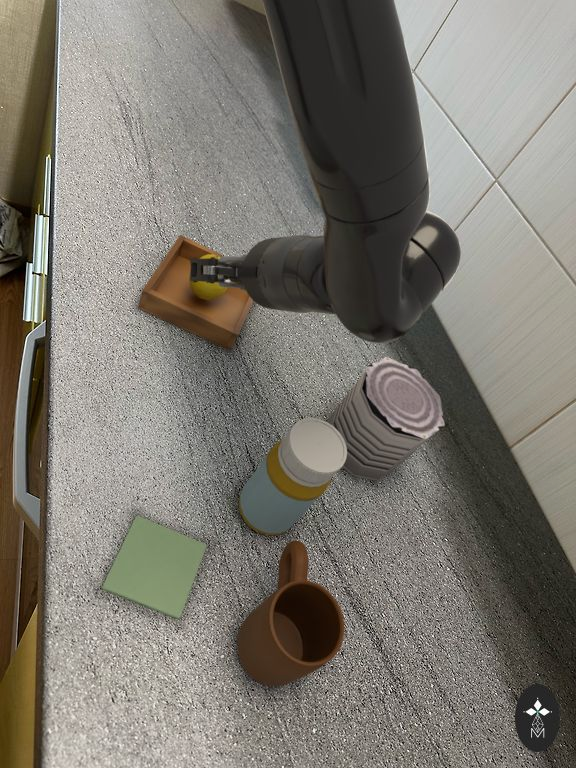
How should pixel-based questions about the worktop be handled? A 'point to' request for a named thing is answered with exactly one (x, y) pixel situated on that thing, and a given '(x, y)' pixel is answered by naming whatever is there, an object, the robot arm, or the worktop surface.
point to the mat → (155, 567)
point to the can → (386, 418)
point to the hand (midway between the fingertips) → (232, 273)
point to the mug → (291, 625)
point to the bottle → (292, 476)
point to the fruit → (207, 286)
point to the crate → (194, 298)
